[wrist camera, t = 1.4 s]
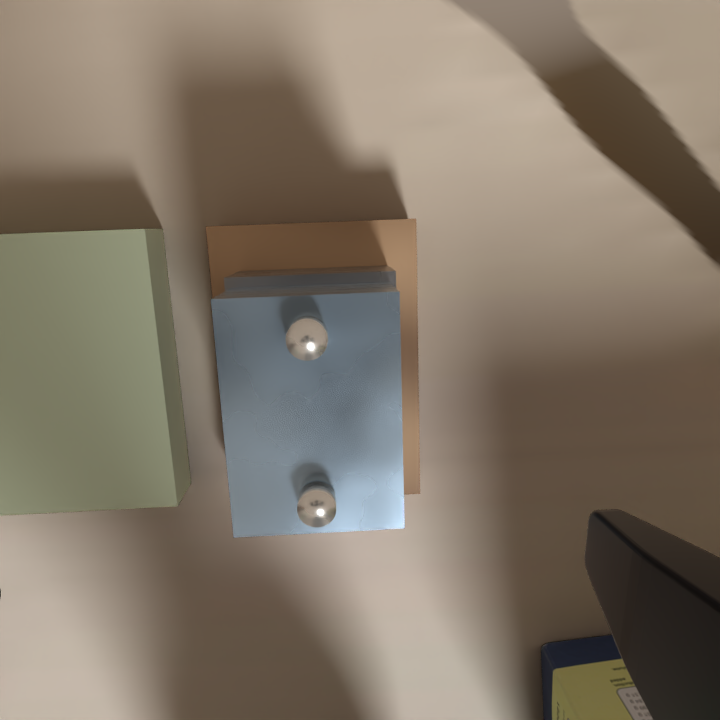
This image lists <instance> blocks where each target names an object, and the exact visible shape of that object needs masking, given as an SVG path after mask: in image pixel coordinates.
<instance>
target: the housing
mask: <svg viewBox="0 0 720 720" xmlns="http://www.w3.org/2000/svg"><path fill="white" fill-rule="evenodd" d="M224 286H225V292H223V293H221V294H219V295H218V296H216V297H214V298H212V299H211V307H212V318H213V328H214V338H215V349H216V359H217V370H218V380H219V391H220V401H221V412H222V422H223V432H224V443H225V453H226V464H227V474H228V485H229V495H230V505H231V516H232V526H233V537H234V538H236V537H254V536H273V535H291V534H310V533H328V532H347V531H365V530H384V529H403V528H405V525H404V477H403V429H402V382H401V334H400V291H399V290H398V289H397V288H396V271H395V270H394V269H392V268H391V267H389V266H388V265H379V266H354V267H329V268H304V269H278V270H253V271H239V272H236V273H234V274H232V275H229V276H227V277H224Z"/></svg>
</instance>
